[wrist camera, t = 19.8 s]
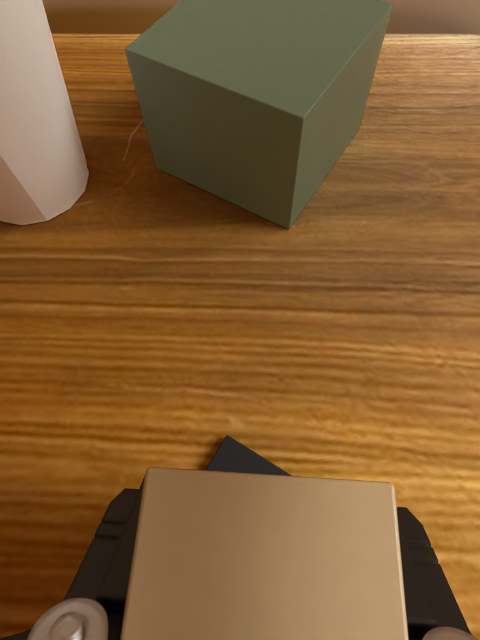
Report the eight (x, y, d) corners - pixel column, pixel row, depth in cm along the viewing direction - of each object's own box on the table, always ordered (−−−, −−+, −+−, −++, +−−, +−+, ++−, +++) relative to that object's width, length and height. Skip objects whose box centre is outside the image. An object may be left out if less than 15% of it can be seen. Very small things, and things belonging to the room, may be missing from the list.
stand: (359, 129, 26) (393, 3, 20) (289, 230, 23) (303, 118, 17) (235, 82, 28) (231, -45, 22) (155, 168, 25) (123, 48, 19)
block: (316, 506, 16) (396, 482, 7) (318, 650, 14) (429, 848, 6) (201, 499, 17) (145, 465, 8) (188, 639, 15) (91, 813, 6)
